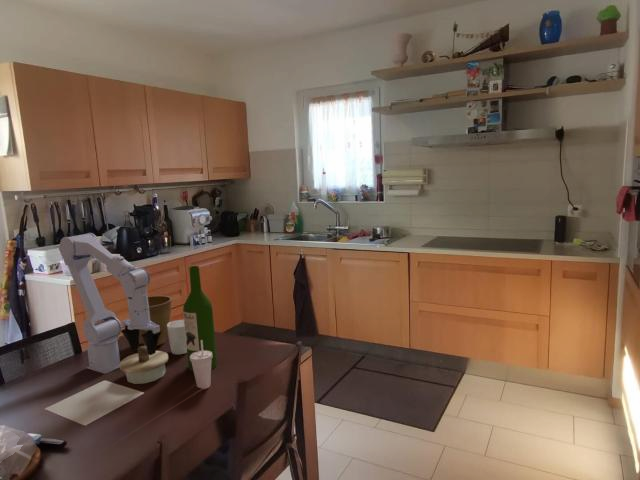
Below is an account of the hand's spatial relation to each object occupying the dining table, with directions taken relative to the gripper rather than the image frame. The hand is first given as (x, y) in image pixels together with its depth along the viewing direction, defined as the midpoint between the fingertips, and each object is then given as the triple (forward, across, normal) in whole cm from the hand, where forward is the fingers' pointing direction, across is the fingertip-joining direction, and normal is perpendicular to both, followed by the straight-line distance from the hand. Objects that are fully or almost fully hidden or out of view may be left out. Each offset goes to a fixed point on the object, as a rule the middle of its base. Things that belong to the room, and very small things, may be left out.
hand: (143, 351), depth 138 cm
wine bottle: (+8, +11, +13) cm, 19 cm away
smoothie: (+8, +21, +3) cm, 23 cm away
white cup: (+8, -5, +19) cm, 21 cm away
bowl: (+8, 0, 0) cm, 8 cm away
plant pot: (+8, -20, +20) cm, 29 cm away
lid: (+3, 0, 0) cm, 3 cm away
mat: (+8, 0, -17) cm, 19 cm away
